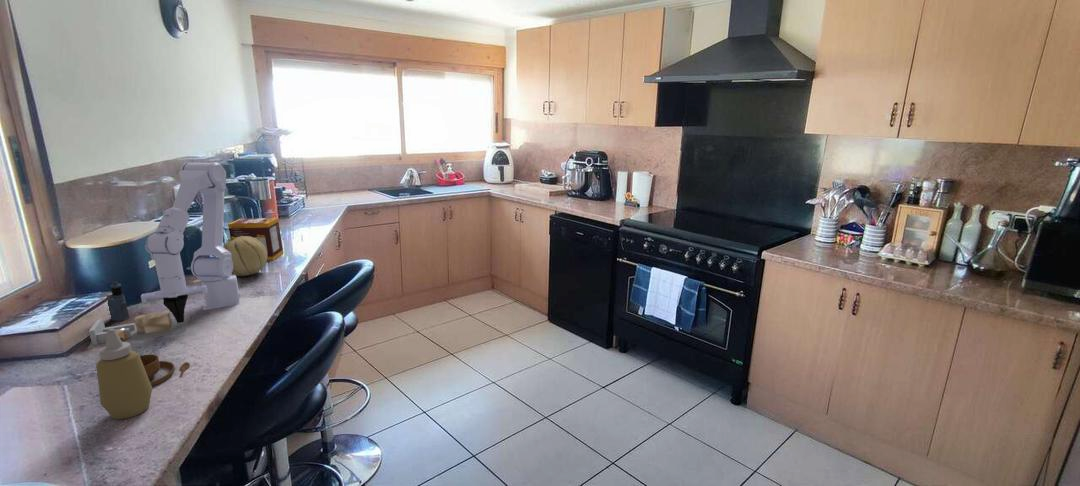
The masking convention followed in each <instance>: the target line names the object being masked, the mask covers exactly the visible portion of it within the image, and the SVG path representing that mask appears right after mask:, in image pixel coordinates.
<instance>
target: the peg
mask: <svg viewBox="0 0 1080 486" xmlns="http://www.w3.org/2000/svg"><path fill="white" fill-rule="evenodd" d="M172 319H173V318H172V313H171V311H170V310H165V311H159V312H152V313H151V312H150V313H146V314H140V315H137V316H136V317H134V323H135V325H136V328H137V332H138V333H139V334H144V333H150V332H156V331H162V330H168V329H171V326H172V324H173V323H172Z"/></svg>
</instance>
